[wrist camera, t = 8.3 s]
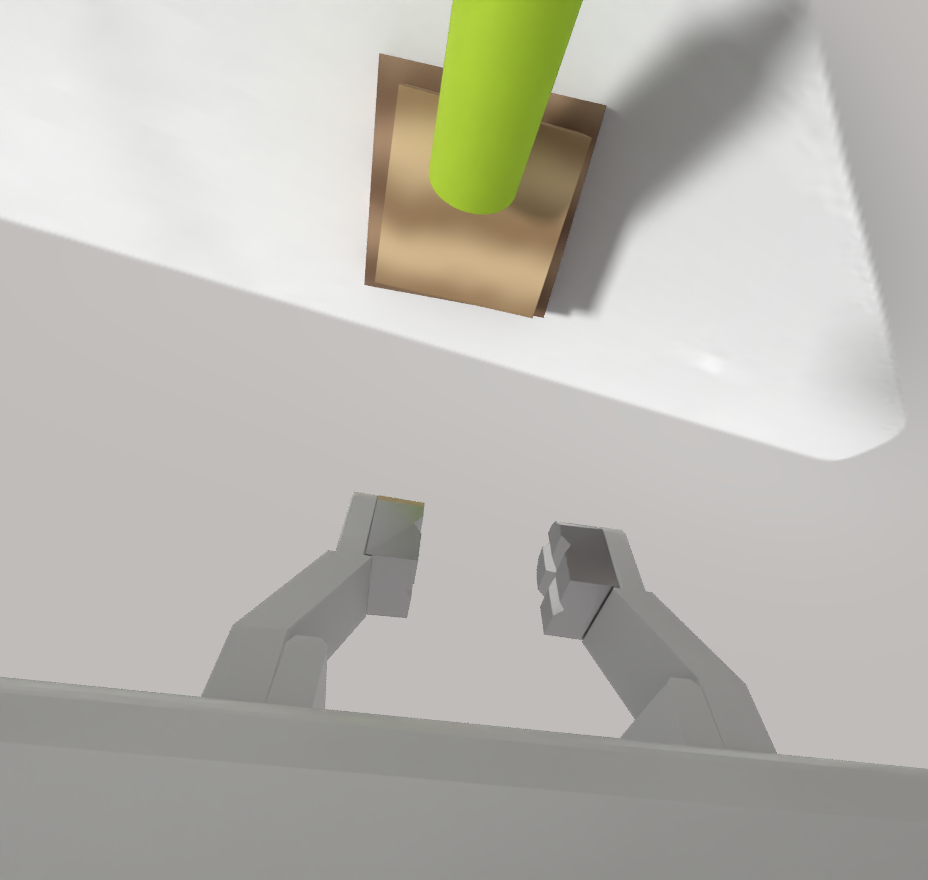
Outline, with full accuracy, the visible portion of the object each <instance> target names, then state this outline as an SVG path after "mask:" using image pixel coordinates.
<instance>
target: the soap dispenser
mask: <svg viewBox="0 0 928 880" xmlns="http://www.w3.org/2000/svg"><path fill="white" fill-rule="evenodd" d="M582 1H583V0H453V4H452V11H451V18H450V25H449V32H448V39H447V46H446V53H445V60H444V67H443V75H442V82H441V89H440V96H439V103H438V110H437V117H436V124H435V131H434V138H433V145H432V152H431V159H430V166H429V179H430V183H431V185H432V187H433V189H434V191H435V192H436V193H437V195H438V196H439V197H440V198H441V199H442V200H444V201H445V202H446V203H448V204H449V205H451V206H452V207H454V208H456V209H459V210H461V211H464V212H467V213H472V214H481V215H484V214H493V213H497V212H500V211H502V210H504V209H505V208H507V207H508V206H509V205H510V204H511V203H512V202H513V200H514V198H515V196H516V193H517V190H518V187H519V184H520V182H521V179H522V176H523V173H524V170H525V167H526V164H527V161H528V158H529V155H530V152H531V150H532V147H533V144H534V141H535V138H536V135H537V132H538V129H539V126H540V123H541V120H542V118H543V115H544V112H545V109H546V106H547V103H548V100H549V97H550V94H551V91H552V89H553V86H554V83H555V80H556V77H557V74H558V71H559V68H560V65H561V62H562V59H563V57H564V54H565V51H566V48H567V45H568V42H569V39H570V36H571V33H572V30H573V27H574V25H575V22H576V19H577V16H578V13H579V10H580V7H581V4H582Z"/></svg>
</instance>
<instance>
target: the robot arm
mask: <svg viewBox="0 0 928 880" xmlns="http://www.w3.org/2000/svg"><path fill="white" fill-rule="evenodd" d="M423 512H424V503H421V502H416V501H410V500H403V499H398V498H392V497H386V496H375V495H370V494H364V493H358V492H354V493H353V495H352V497H351V500H350V504H349V507H348V510H347V514H346V517H345V521H344V524H343V527H342V531H341V534H340V538H339V541H338V545H337V548H336V551H330V550H328V551H327V552H326V553H324V554H323V555H322V556H320V557H319V558H318V559H317V560H315V561H314V562H313V563H312V564H310V565H309V566H308V567H306V568H305V569H304V570H303V571H301V572H300V573H299V574H297V575H296V576H295V577H294V578H292V579H291V580H290V581H289V582H287V583H286V584H285V585H283V586H282V587H281V588H280V589H278V590H277V591H276V592H274V593H273V594H272V595H271V596H270V597H268V598H267V599H266V600H264V601H263V602H262V603H261V604H259V605H258V606H257V607H255V608H254V609H253V610H252V611H251V612H249V613H248V614H246V615H245V616H244V617H243V618H241V619H240V620H239V621H237V622H236V623H235V624H234V625H233V626H232V628H231V630H230V633H229V635H228V637H227V639H226V642H225V644H224V646H223V648H222V651H221V653H220V655H219V657H218V660H217V662H216V664H215V667H214V669H213V671H212V673H211V675H210V678H209V680H208V682H207V684H206V687H205V689H204V691H203V694H202V696H201V697H196V696H186V695H176V694H166V693H156V692H146V691H135V690H126V689H116V688H106V687H96V686H86V685H76V684H66V683H56V682H45V681H36V680H26V679H16V678H6V677H0V880H928V769H923V768H913V767H903V766H893V765H883V764H873V763H863V762H852V761H843V760H833V759H823V758H812V757H802V756H792V755H782V754H777V752H776V750H775V748H774V746H773V743H772V741H771V739H770V737H769V735H768V732H767V730H766V728H765V726H764V724H763V721H762V719H761V717H760V715H759V713H758V710H757V708H756V706H755V704H754V701H753V699H752V697H751V695H750V693H749V690H748V688H747V686H746V684H745V683H744V682H743V681H742V680H741V679H740V678H739V677H738V676H737V675H735V673H734V672H733V671H732V670H731V669H730V668H729V667H728V666H727V665H726V664H725V663H724V662H723V661H722V660H721V659H720V658H718V657H717V656H716V655H715V654H714V653H713V652H712V651H711V650H710V649H709V648H708V647H707V646H706V645H705V644H704V643H703V642H702V641H701V640H700V639H699V638H698V637H697V636H696V635H695V634H694V633H693V632H692V631H691V630H690V629H689V628H688V627H687V626H686V625H685V624H684V623H683V622H682V621H680V619H679V618H678V617H676V615H675V614H674V613H673V612H671V610H670V609H669V608H668V607H666V606H665V605H664V604H663V603H662V602H661V601H660V600H659V599H658V598H657V597H656V596H655V595H654V594H653V593H652V592H646V591H645V589H644V586H643V583H642V580H641V577H640V574H639V571H638V568H637V565H636V563H635V560H634V557H633V554H632V551H631V548H630V545H629V543H628V540H627V537H626V534H625V533H624V532H623V531H622V530H618V529H610V528H603V527H599V528H598V527H594V526H587V525H579V524H572V523H564V522H557V521H555V522H554V523H553V524H552V526H551V528H550V530H549V533H548V535H549V541H550V543H548V544H547V545H545V546H543V547H542V550H541V553H540V555H539V559H538V566H537V584H538V590H539V591H540V592H541V593H542V594H543V596H544V600H543V602H542V604H541V606H540V608H541V616H542V623H543V630H544V634H545V635H552V636H559V637H566V638H572V639H579V640H583V641H582V643H583V644H584V645H585V647H586V648H587V650H588V651H589V653H590V654H591V656H592V657H593V659H594V660H595V662H596V663H597V664H598V666H599V667H600V669H601V670H602V672H603V673H604V675H605V676H606V677H607V679H608V681H609V682H610V684H611V685H612V686H613V688H614V689H615V691H616V692H617V694H618V695H619V697H620V698H621V700H622V701H623V702H624V704H625V705H626V707H627V708H628V710H629V711H630V713H631V714H632V716H633V717H634V719H635V721H634V722H633V723H632V724H631V726H630V727H629V728H628V729H627V730H626V732H625V733H624V734H623V735H622V737H621V738H610V737H601V736H590V735H581V734H571V733H560V732H550V731H541V730H530V729H520V728H509V727H500V726H490V725H479V724H469V723H459V722H448V721H439V720H428V719H418V718H408V717H397V716H388V715H378V714H368V713H358V712H348V711H338V710H327V709H325V695H326V670H327V660H328V659H329V658H330V657H331V655H332V654H333V653H334V652H335V651H336V650H337V649H338V648H339V646H340V645H341V644H342V643H343V642H344V641H345V640H346V638H347V637H348V636H349V635H350V634H351V633H352V632H353V631H354V629H355V628H356V627H357V626H358V625H359V624H360V623H361V621H362V620H363V619H364V618H365V616H366V614H369V615H380V616H391V617H402V618H407V615H408V610H409V605H410V600H411V594H412V586H413V584H414V580H415V574H416V569H417V563H418V556H419V547H420V540H421V532H420V531H421V526H422V520H423Z"/></svg>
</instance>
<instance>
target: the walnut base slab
mask: <svg viewBox="0 0 928 880" xmlns="http://www.w3.org/2000/svg"><path fill="white" fill-rule="evenodd" d="M442 75H443V68H441V67H437V66H432V65H428V64H424V63H419V62H415V61H411V60H406V59H402V58H398V57H393V56H389V55H385V54H380V53H379V67H378V83H377V98H376V114H375V129H374V145H373V161H372V176H371V192H370V207H369V223H368V238H367V254H366V269H365V285H368V286H373V287H379V288H384V289H390V290H395V291H401V292H406V293H412V294H417V295H422V296H428V297H433V298H439V299H444V300H450V301H455V300H451V299H446V298H442V297H437V296H433V295H429V294H424V293H420V292H415V291H411V290H407V289H402V288H398V287H393V286H389V285H385V284H380V283H376V282H375V276H376V268H377V260H378V252H379V243H380V235H381V227H382V219H383V211H384V202H385V194H386V186H387V178H388V169H389V161H390V153H391V145H392V137H393V128H394V120H395V112H396V104H397V96H398V87H399V84H404V83H406V84H409V85H413V86H416V87H420V88H423V89H427V90H431V91H434V92H438V93H440V89H441V82H442ZM605 109H606V105H602V104H597V103H593V102H589V101H584V100H580V99H576V98H571V97H567V96H563V95H558V94H554V93H551V94H550V97H549V100H548V103H547V106H546V109H545V112H544V115H543V118H542V120H541V122H545V123H548V124H552V125H556V126H559V127H563V128H566V129H570V130H573V131H577V132H581V133H583V134H585V135H587V136H589V137H591V138H592V139H591V142H590V145H589V148H588V151H587V154H586V157H585V160H584V163H583V166H582V169H581V172H580V175H579V178H578V181H577V185H576V188H575V191H574V194H573V197H572V200H571V203H570V206H569V209H568V212H567V215H566V218H565V221H564V224H563V227H562V230H561V233H560V236H559V239H558V242H557V245H556V248H555V251H554V254H553V257H552V260H551V263H550V266H549V269H548V272H547V275H546V278H545V281H544V285H543V288H542V291H541V294H540V297H539V300H538V303H537V306H536V309H535V312H534V315H533V316H537V317H543V318H544V315H545V311H546V308H547V305H548V301H549V298H550V294H551V291H552V288H553V284H554V281H555V278H556V274H557V271H558V267H559V264H560V261H561V257H562V254H563V251H564V247H565V244H566V240H567V237H568V234H569V230H570V227H571V224H572V220H573V217H574V213H575V210H576V207H577V203H578V200H579V197H580V193H581V190H582V186H583V183H584V180H585V176H586V173H587V170H588V166H589V163H590V159H591V156H592V153H593V149H594V146H595V143H596V139H597V136H598V132H599V129H600V126H601V122H602V119H603V116H604V112H605ZM455 302H459V301H455ZM461 303H464V302H461ZM466 304H468V303H466ZM472 305H473V304H472Z"/></svg>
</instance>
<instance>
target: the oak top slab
mask: <svg viewBox="0 0 928 880" xmlns="http://www.w3.org/2000/svg"><path fill="white" fill-rule="evenodd" d="M439 96H440V93H438V92H434V91H431V90H427V89H423V88H420V87H416V86H413V85H409V84H406V83H404V84H399V87H398V96H397V104H396V112H395V120H394V128H393V137H392V145H391V153H390V161H389V169H388V178H387V186H386V194H385V202H384V211H383V219H382V227H381V235H380V243H379V252H378V260H377V268H376V276H375V282H376V283H380V284H385V285H389V286H393V287H398V288H402V289H407V290H411V291H415V292H420V293H424V294H429V295H433V296H437V297H442V298H446V299H451V300H455V301H459V302H464V303H468V304H473V305H477V306H481V307H486V308H490V309H494V310H499V311H503V312H508V313H512V314H516V315H521V316H525V317H530V318H533V315H534V312H535V309H536V306H537V303H538V300H539V297H540V294H541V291H542V288H543V285H544V281H545V278H546V275H547V272H548V269H549V266H550V263H551V260H552V257H553V254H554V251H555V248H556V245H557V242H558V239H559V236H560V233H561V230H562V227H563V224H564V221H565V218H566V215H567V212H568V209H569V206H570V203H571V200H572V197H573V194H574V191H575V188H576V185H577V181H578V178H579V175H580V172H581V169H582V166H583V163H584V160H585V157H586V154H587V151H588V148H589V145H590V142H591V139H592V138H591V137H589V136H587V135H585V134H583V133H581V132H577V131H573V130H570V129H566V128H563V127H559V126H556V125H552V124H548V123H545V122H541V123H540V126H539V129H538V132H537V135H536V138H535V141H534V144H533V147H532V150H531V152H530V155H529V158H528V161H527V164H526V167H525V170H524V173H523V176H522V179H521V182H520V184H519V187H518V190H517V193H516V196H515V198H514V200H513V202H512V203H511V204H510V205H509V206H508V207H507V208H505V209H504V210H502V211H500V212H497V213H493V214H484V215H481V214H472V213H467V212H464V211H461V210H459V209H456V208H454V207H452V206H451V205H449V204H448V203H446V202H445V201H444V200H442V199H441V198H440V197H439V196H438V195H437V193H436V192H435V191H434V189H433V187H432V185H431V183H430V179H429V166H430V159H431V152H432V145H433V138H434V131H435V124H436V117H437V110H438V103H439Z"/></svg>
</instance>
